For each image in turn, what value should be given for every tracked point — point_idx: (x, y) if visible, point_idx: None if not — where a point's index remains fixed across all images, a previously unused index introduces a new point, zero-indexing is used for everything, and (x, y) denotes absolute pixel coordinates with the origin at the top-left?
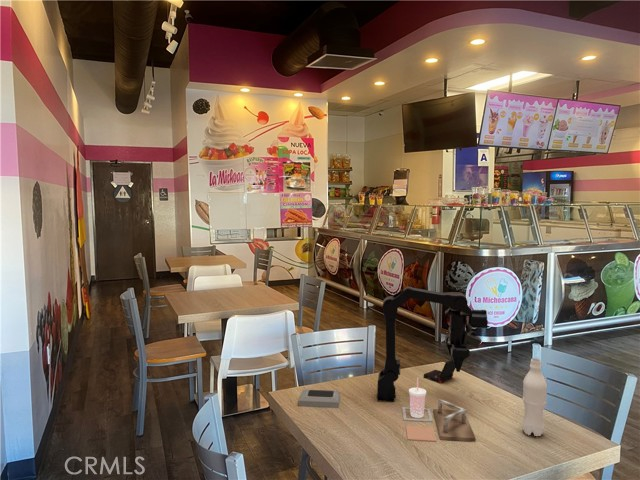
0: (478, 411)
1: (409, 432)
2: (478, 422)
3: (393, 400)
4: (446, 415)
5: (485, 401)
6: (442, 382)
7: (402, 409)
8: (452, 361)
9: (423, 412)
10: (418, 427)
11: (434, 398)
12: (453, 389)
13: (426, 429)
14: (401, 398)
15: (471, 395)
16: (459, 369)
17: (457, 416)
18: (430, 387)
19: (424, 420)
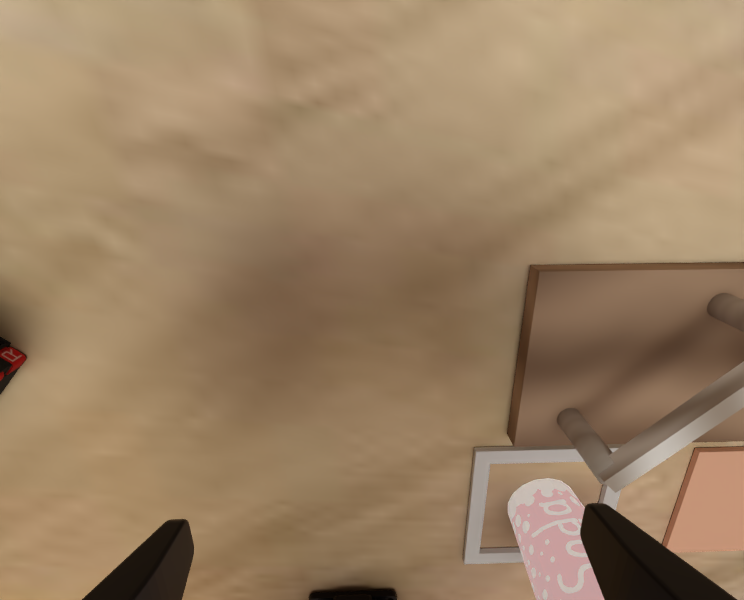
0: (491, 155)
1: (732, 541)
2: (660, 192)
3: (393, 598)
4: (605, 387)
5: (296, 49)
6: (1, 340)
7: (489, 562)
8: (183, 578)
9: (572, 498)
10: (690, 508)
11: (310, 412)
12: (112, 276)
13: (717, 479)
14: (342, 560)
15: (194, 152)
16: (645, 545)
17: (625, 328)
18: (131, 421)
19: None
